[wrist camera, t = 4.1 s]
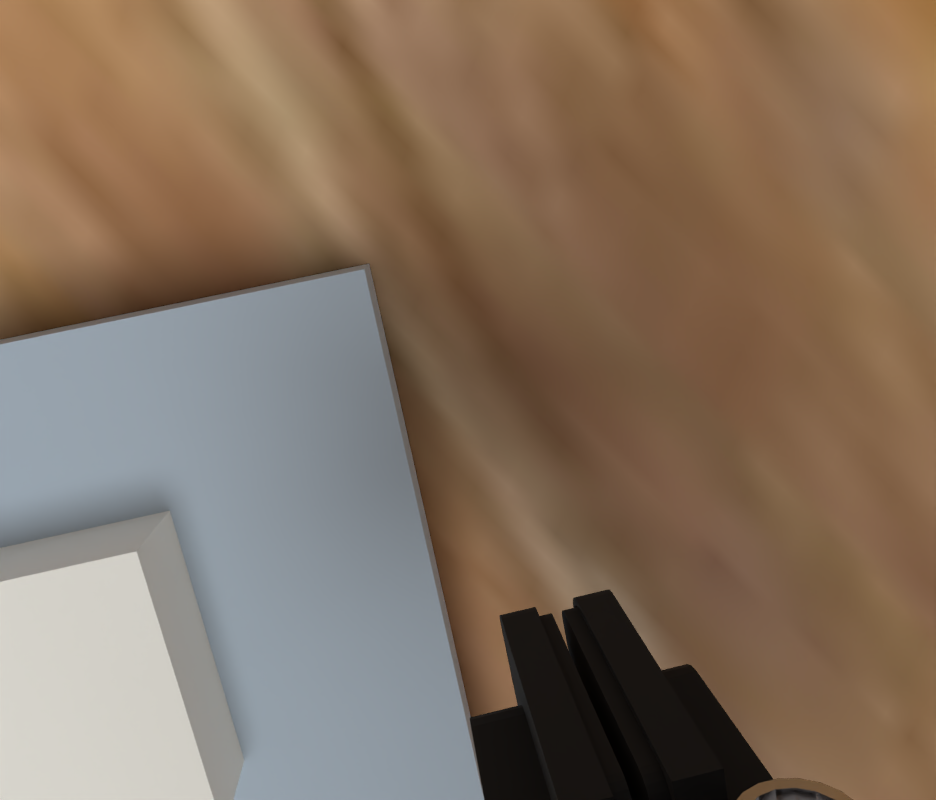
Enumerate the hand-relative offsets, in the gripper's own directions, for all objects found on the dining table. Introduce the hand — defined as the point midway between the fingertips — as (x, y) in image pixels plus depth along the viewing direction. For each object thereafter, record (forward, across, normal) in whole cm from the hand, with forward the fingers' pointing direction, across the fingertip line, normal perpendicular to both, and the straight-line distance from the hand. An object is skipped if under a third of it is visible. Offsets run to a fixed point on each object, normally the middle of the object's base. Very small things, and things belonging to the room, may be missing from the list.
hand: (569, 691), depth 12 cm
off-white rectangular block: (+6, +11, +1) cm, 12 cm away
